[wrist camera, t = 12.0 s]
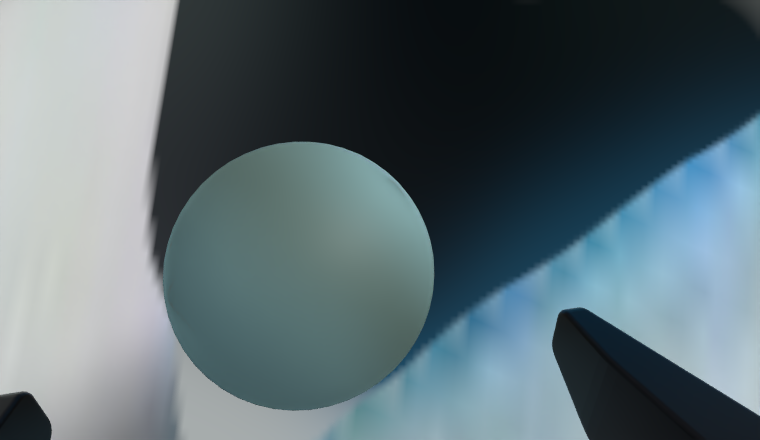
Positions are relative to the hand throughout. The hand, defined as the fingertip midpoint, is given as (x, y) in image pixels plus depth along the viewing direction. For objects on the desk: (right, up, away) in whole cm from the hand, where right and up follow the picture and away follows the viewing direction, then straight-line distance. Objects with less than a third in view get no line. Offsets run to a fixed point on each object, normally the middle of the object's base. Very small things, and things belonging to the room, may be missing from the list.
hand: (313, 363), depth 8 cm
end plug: (-1, -1, +13) cm, 13 cm away
